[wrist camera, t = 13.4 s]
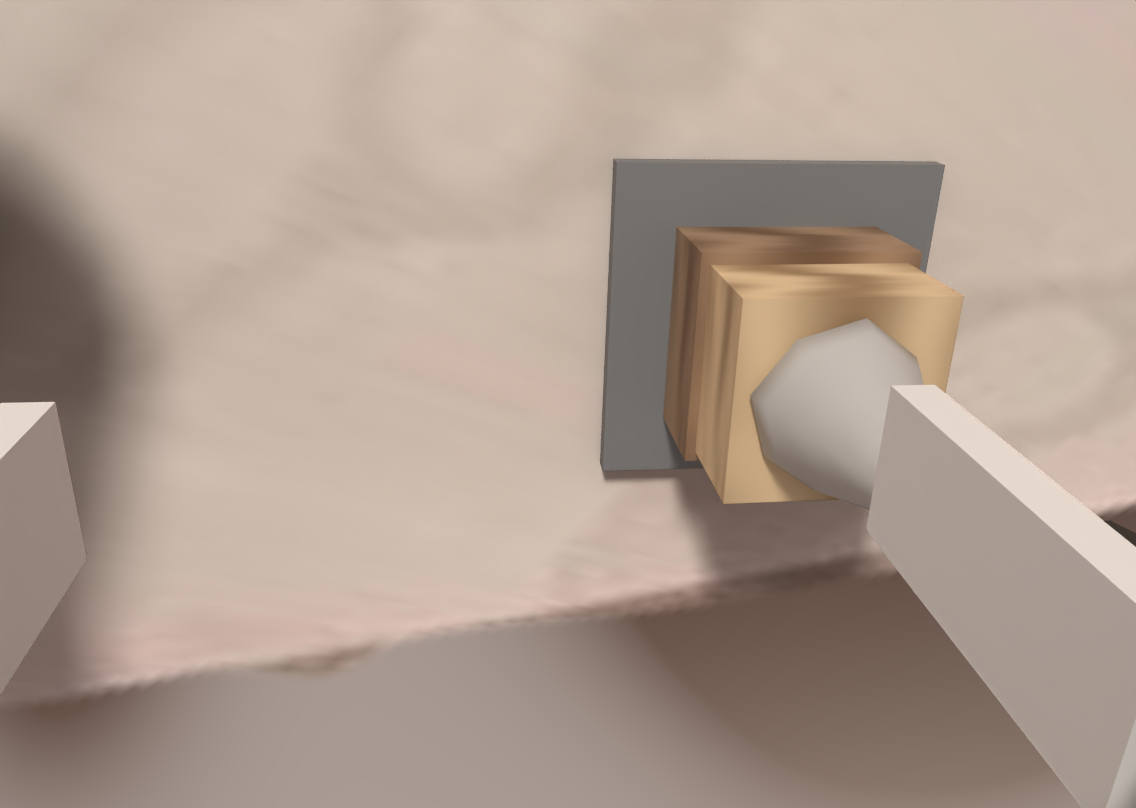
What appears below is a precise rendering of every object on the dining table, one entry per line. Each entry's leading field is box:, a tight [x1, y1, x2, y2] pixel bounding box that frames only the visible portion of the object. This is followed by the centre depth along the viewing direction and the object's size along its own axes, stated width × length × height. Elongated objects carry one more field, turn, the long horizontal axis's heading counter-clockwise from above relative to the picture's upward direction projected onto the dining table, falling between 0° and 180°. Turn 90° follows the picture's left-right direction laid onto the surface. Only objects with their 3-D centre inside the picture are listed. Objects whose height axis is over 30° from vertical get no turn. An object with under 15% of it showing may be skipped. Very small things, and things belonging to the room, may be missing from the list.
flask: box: [750, 318, 924, 509], centre depth 35 cm, size 7×7×10 cm
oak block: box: [695, 263, 964, 504], centre depth 41 cm, size 9×9×5 cm
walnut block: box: [663, 227, 922, 461], centre depth 46 cm, size 10×10×5 cm
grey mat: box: [600, 159, 945, 471], centre depth 49 cm, size 16×16×1 cm
